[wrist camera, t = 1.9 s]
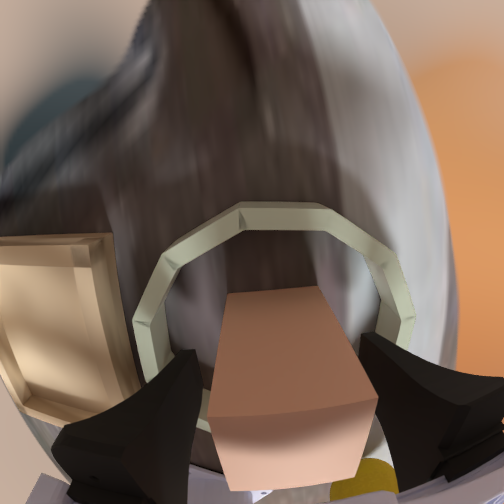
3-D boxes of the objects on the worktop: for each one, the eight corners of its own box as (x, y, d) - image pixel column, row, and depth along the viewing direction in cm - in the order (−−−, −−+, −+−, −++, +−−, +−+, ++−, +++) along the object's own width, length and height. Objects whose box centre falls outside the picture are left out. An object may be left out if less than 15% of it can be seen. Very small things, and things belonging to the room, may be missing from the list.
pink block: (316, 358, 15) (354, 477, 8) (237, 365, 15) (230, 491, 8) (317, 285, 14) (378, 397, 6) (227, 293, 14) (206, 416, 6)
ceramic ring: (303, 433, 17) (308, 461, 15) (122, 358, 15) (107, 383, 13) (430, 282, 14) (454, 299, 12) (226, 149, 12) (220, 143, 10)
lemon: (384, 430, 17) (419, 510, 10) (387, 460, 19) (413, 527, 11) (315, 455, 18) (333, 541, 10) (329, 481, 19) (344, 551, 11)
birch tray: (151, 421, 17) (142, 448, 14) (33, 393, 17) (19, 411, 14) (112, 232, 13) (88, 244, 11) (-15, 237, 13) (-39, 247, 11)
